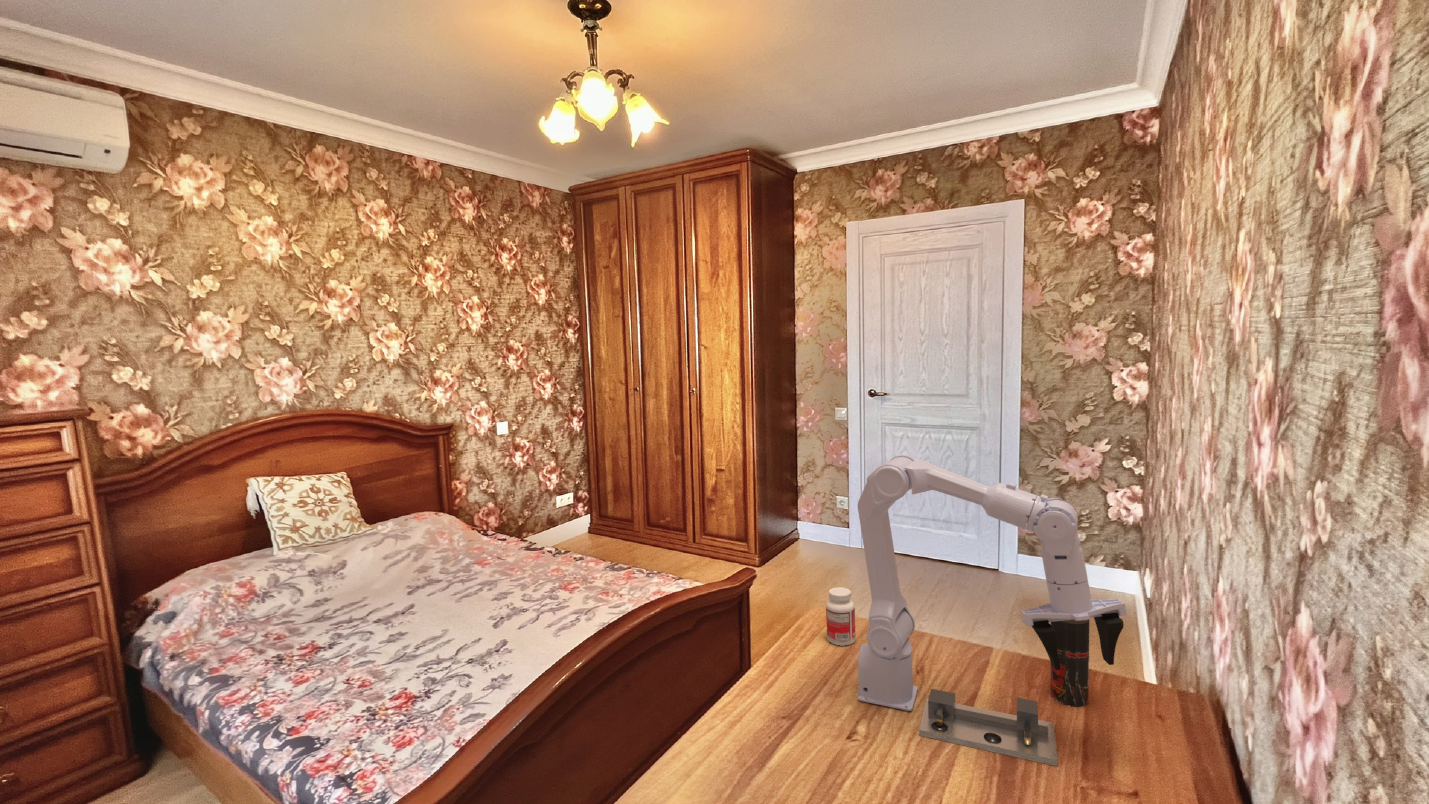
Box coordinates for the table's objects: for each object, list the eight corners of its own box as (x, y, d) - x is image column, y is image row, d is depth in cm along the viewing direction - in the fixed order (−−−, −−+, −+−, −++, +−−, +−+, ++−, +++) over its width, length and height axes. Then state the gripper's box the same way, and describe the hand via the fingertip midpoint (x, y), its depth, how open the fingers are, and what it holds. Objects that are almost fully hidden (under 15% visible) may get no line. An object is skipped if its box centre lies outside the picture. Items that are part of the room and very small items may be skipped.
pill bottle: (842, 631, 140) (840, 583, 139) (861, 641, 135) (860, 592, 134) (821, 638, 137) (819, 590, 136) (840, 649, 132) (839, 599, 131)
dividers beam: (926, 726, 103) (926, 708, 103) (931, 704, 109) (930, 688, 108) (1049, 752, 95) (1049, 734, 95) (1047, 728, 101) (1047, 710, 101)
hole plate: (919, 735, 102) (919, 729, 102) (926, 703, 111) (926, 697, 111) (1057, 766, 93) (1057, 759, 93) (1053, 728, 102) (1053, 722, 102)
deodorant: (1094, 708, 107) (1095, 624, 106) (1056, 705, 109) (1057, 623, 107) (1081, 689, 113) (1081, 610, 112) (1045, 687, 114) (1046, 608, 113)
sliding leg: (1017, 742, 97) (1016, 719, 97) (1016, 719, 103) (1016, 697, 102) (1038, 747, 96) (1038, 723, 95) (1037, 723, 101) (1037, 701, 101)
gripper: (1025, 593, 94) (1041, 681, 94) (1129, 581, 91) (1146, 671, 91) (1011, 578, 101) (1026, 660, 101) (1107, 566, 98) (1123, 651, 98)
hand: (1082, 664), depth 97 cm, fingers open, 7 cm apart
